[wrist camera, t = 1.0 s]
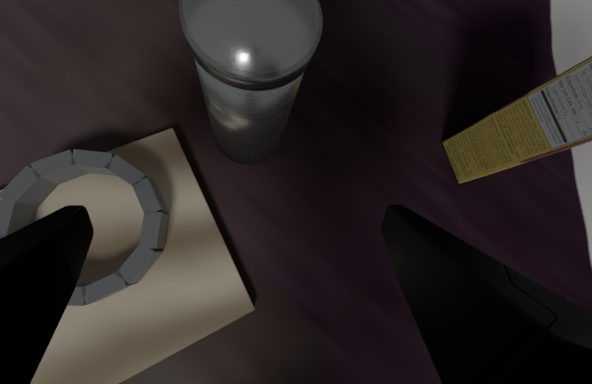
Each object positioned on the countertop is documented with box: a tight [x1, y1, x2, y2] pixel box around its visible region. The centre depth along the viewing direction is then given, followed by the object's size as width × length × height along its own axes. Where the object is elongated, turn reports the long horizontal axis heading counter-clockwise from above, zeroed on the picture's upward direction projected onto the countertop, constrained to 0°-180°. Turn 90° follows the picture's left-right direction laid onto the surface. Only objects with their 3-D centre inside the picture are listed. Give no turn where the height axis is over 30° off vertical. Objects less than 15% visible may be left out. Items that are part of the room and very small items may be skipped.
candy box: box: [442, 56, 592, 183], centre depth 20 cm, size 9×4×15 cm, turn 108°
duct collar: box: [0, 149, 169, 306], centre depth 19 cm, size 9×9×2 cm
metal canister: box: [179, 0, 323, 165], centre depth 18 cm, size 6×6×12 cm
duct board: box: [0, 128, 255, 384], centre depth 20 cm, size 14×14×1 cm
